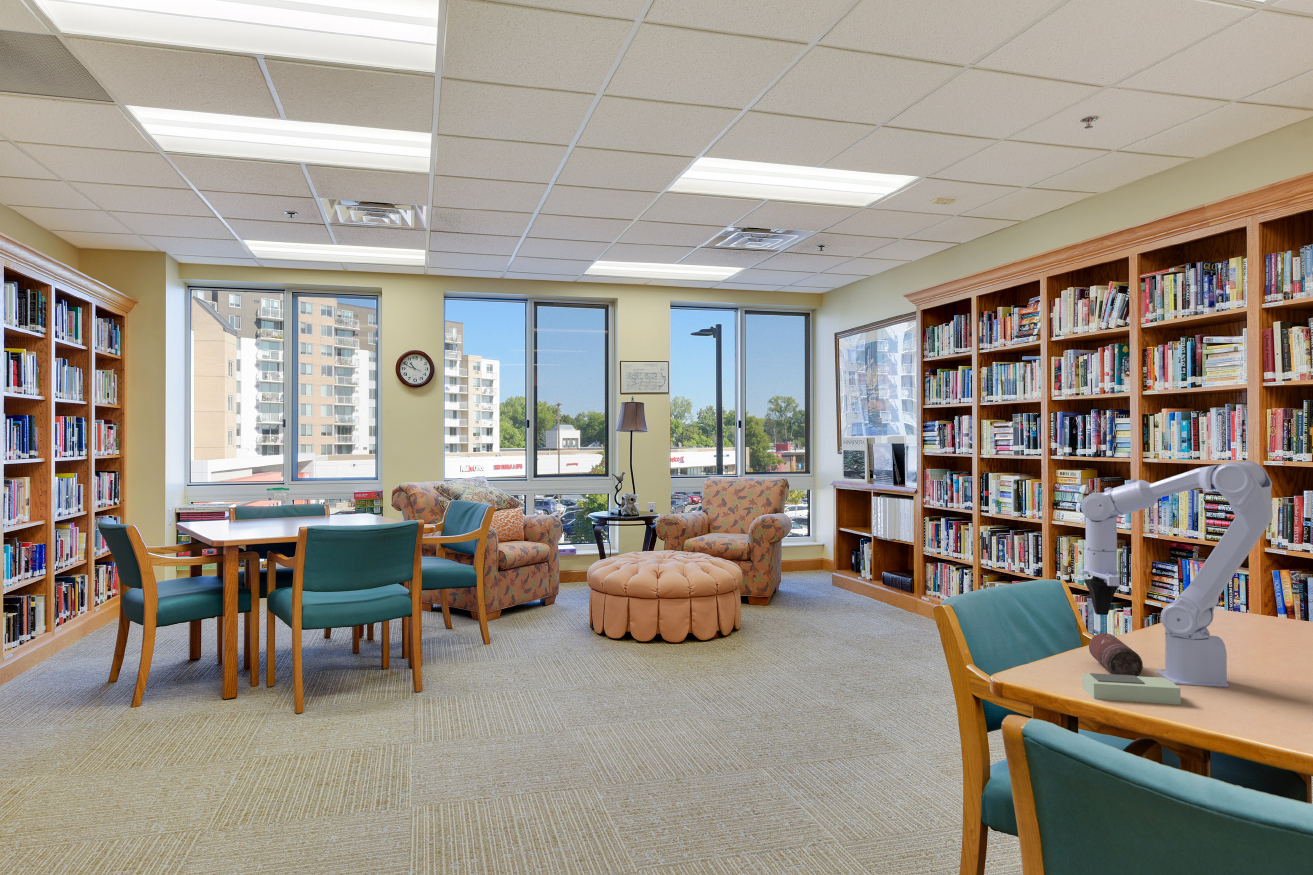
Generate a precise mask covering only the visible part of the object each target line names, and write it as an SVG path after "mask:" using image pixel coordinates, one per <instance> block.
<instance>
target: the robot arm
mask: <svg viewBox="0 0 1313 875" xmlns="http://www.w3.org/2000/svg"><path fill="white" fill-rule="evenodd" d="M1272 487H1273V482H1272V480H1271V478H1270V476H1269V475H1268V473H1267V471H1266V470H1265V468H1264V467H1263V466H1262V465H1260V464H1258V463H1257V462H1255V461H1254V462H1253V461H1250V460H1249V461H1248V460H1244V461H1239V462H1235V461H1231V462H1225V463H1222V464H1216V465H1209V466H1202V467H1198V468H1194V469H1191V470H1189V471H1185V472H1183V473H1180V474H1176V475H1173V476H1170V477H1167V478H1164V479H1161V480H1159V481H1158V480H1157V481H1156V482H1152V483H1151V482H1148V481H1147V480H1143V479H1138V480H1137V479H1136V478H1132V479H1128V480H1127V483H1126V484H1122V485H1119V486H1116V487H1113V488H1112V486H1111V487H1110V486H1108V487H1106V488H1103V489H1104V492H1091V493H1090V494H1088V495H1086V496H1085V497H1084V498H1083V499H1082V501H1081V502H1080V510H1081V513H1082V515H1083V516H1084V517H1085V564H1084V568H1081V569H1079V573H1080V574H1083V575H1087V576H1092V577H1090V578H1084V579H1083V582H1084V584H1085V585H1086V588H1087V589H1088V592H1089V596H1090V598H1091V602H1092V607H1093V611H1094V614H1096V615H1097V616H1098V615H1099V616H1108V615H1109V612H1110V609H1111V604H1112V602H1113V598H1114V596H1115V593H1116V592H1117V590H1118V589H1119V588H1120V585H1121V584H1120V582H1121V581H1120V576H1119V571H1118V530H1117V518H1118V517H1119V516H1124V515H1127V514H1132V513H1134V512H1138V511H1142V510H1146V509H1150V508H1152V507H1154V506H1155V505H1156V503H1157V501H1158V499H1160V498H1164V497H1168V496H1171V495H1175V494H1180V493H1183V492H1187V491H1190V490H1195V489H1199V488H1200V489H1203V490H1207V491H1214V490H1216V491H1218V492H1219V494H1220V495H1221V496H1222V497H1223V498H1224V499H1225V500H1226V501H1227V502H1228V504H1229V506H1230V508H1231V510H1232V512H1233V514H1234V516H1235V517H1234V519H1233V520H1232V522H1231V523H1230V525H1229V526H1228V527H1227V529H1226V530H1225V532H1224V533H1223V535H1222V536H1221V537H1220V540H1219V541H1218V542H1217V544H1216V546H1214V548H1213V550H1212V551H1211V553H1210V554H1209V556H1208V557H1207V559H1206V560H1205V562H1204V563H1203V564H1202V566H1201V567H1200V569H1199V570H1198V572H1197V574H1196V575H1195V576H1194V578H1193V579H1192V581H1191V582H1190V583H1189V585H1188V586H1187V587H1186V588H1185V589H1184V590H1183V591H1182V592H1180V594H1179V595H1178V596H1177V598H1176V599H1175V600H1173V602H1171V603H1169V604H1167V605H1165V606H1164V607H1163V609H1162V610H1161V612H1160V621H1161V623H1162V625H1163V627H1164V628H1165V629H1164V631H1165V632H1164V641H1165V642H1164V643H1165V644H1164V651H1165V653H1164V654H1165V655H1164V656H1165V657H1164V659H1165V660H1164V662H1165V663H1164V664H1165V665H1164V666H1165V667H1164V668H1165V670H1164V669H1157V670H1156V673H1157V674H1159V675H1160V676H1161V677H1162V678H1167V679H1168V680H1169V681H1171V682H1172V683H1174V684H1175V685H1177V686H1178V685H1179V686H1180V685H1181V686H1198V687H1220V688H1229V685H1230V684H1229V683H1228V682H1227V680H1228V677H1227V676H1228V670H1227V668H1228V667H1227V666H1228V664H1227V663H1228V661H1227V660H1228V659H1227V658H1228V656H1227V648H1226V645H1225V643H1224V640H1223V639H1222V638H1221V637H1220V636H1217V635H1211V633H1210V631H1209V630H1208V627H1209V626H1210V625H1211V623H1212V622H1213V620H1214V611H1215V609H1216V607H1217V605H1218V603H1219V598H1220V596H1221V594H1222V593H1223V591H1224V590H1225V588H1226V587H1227V586H1228V584H1229V583H1230V581H1231V580H1232V579H1233V577H1234V575H1235V574H1236V573H1237V571H1238V570H1239V569H1240V567H1241V565H1242V564H1244V562H1245V560H1246V559H1247V557H1248V555H1249V554H1250V553H1251V551H1252V550H1253V548H1254V547H1255V546H1256V544H1257V543H1258V541H1259V540H1260V538H1261V537H1262V536H1263V534H1264V532H1266V530H1267V528H1268V527H1269V525H1270V524H1271V523H1272V520H1273V516H1274V515H1273V514H1274V513H1273V503H1272V500H1273V499H1272Z"/></svg>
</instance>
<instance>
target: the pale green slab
mask: <svg viewBox="0 0 1313 875" xmlns="http://www.w3.org/2000/svg"><path fill="white" fill-rule="evenodd" d="M1082 690H1084V691H1085V693H1087V694H1088V695H1089V696H1090V697H1091V698H1093V699H1094V700H1104V699H1105V700H1104V701H1106V700H1108V701H1119V700H1121V701H1122V700H1123V702H1134V703H1136V702H1137V703H1150V704H1151V703H1152V704H1165V705H1182V704H1181V702H1182V700H1181V696H1182V694H1181V693H1182V692H1181V690H1182V689H1181V687H1179V686H1178V684H1174V683H1172V682H1171V681H1169V680H1168V679H1167V678H1164V677H1158V676H1157V677H1155V676H1153V677H1152V676H1140V675H1139V676H1135V675H1116V674H1111V673H1094V672H1091V673H1090V672H1089V673H1082ZM1135 701H1136V702H1135Z"/></svg>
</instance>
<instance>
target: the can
mask: <svg viewBox="0 0 1313 875" xmlns="http://www.w3.org/2000/svg"><path fill="white" fill-rule="evenodd" d="M1088 650H1089V653H1090V655H1091V656H1092V657H1093V658H1094V660H1096V661H1097V662H1098V663H1099V664H1100V665H1101V666H1102V667H1104V668H1105V669H1106V670H1107V671H1108V672H1109V674H1116V675H1135V676H1140V674H1141V673H1142V672H1143V668H1144V665H1143V660H1142V658H1141V656H1140V655H1139V654H1138V653H1137V652H1136V651H1134V650H1133V649H1132V648H1131V647H1129V646H1128V645H1127V644H1125V643H1124V642H1123V641H1122V640H1120V639H1119V638H1117V637H1116V636H1115V635H1113V634H1111V633H1108V632H1101V633H1097V634H1095V635H1093V636H1092V638H1090V640H1089V643H1088Z"/></svg>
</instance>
